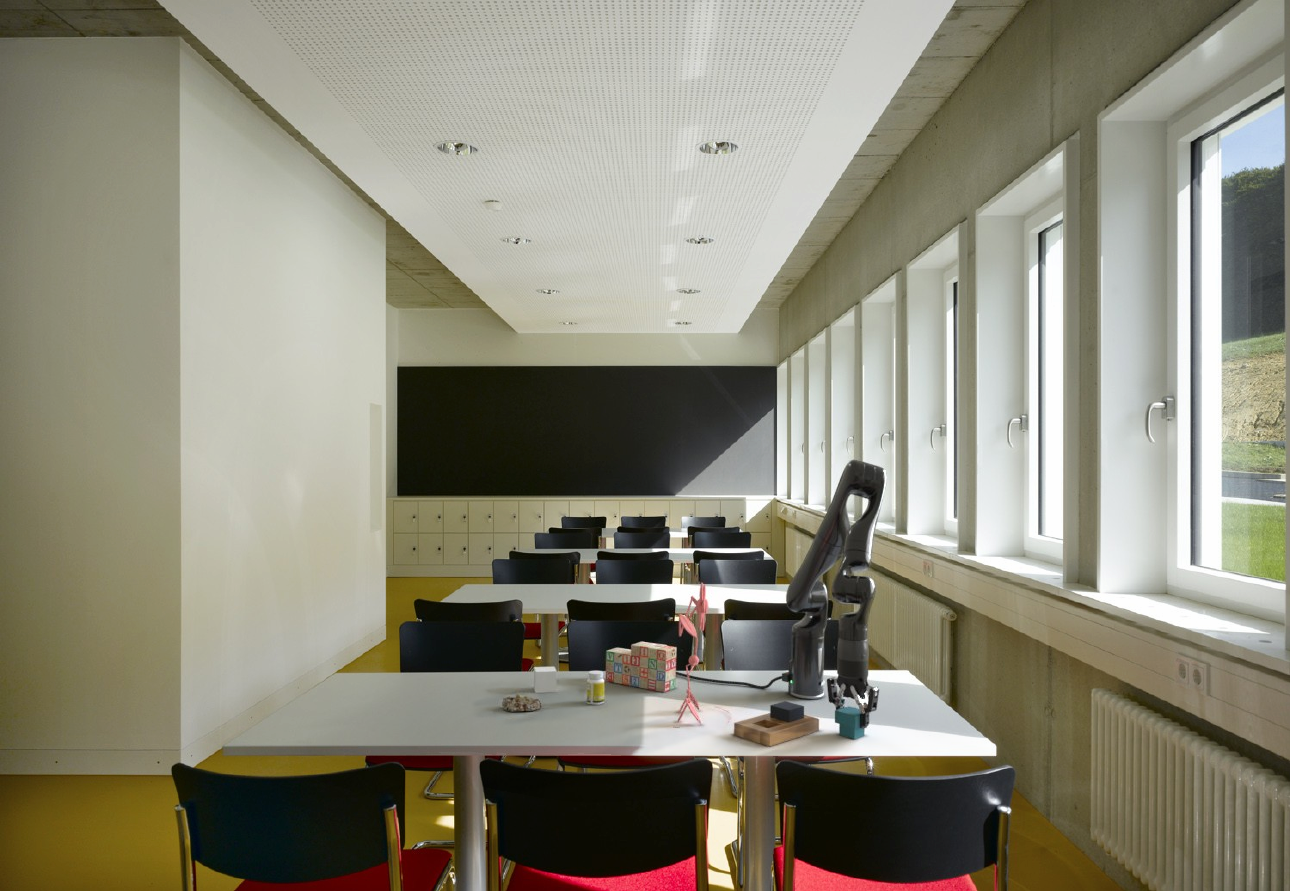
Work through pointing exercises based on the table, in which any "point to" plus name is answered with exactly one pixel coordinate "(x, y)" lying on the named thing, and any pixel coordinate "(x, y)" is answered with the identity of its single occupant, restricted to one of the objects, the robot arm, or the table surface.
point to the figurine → (693, 660)
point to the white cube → (545, 679)
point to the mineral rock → (521, 703)
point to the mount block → (774, 729)
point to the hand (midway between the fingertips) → (851, 724)
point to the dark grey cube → (787, 711)
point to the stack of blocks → (643, 666)
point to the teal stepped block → (849, 722)
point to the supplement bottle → (595, 688)
